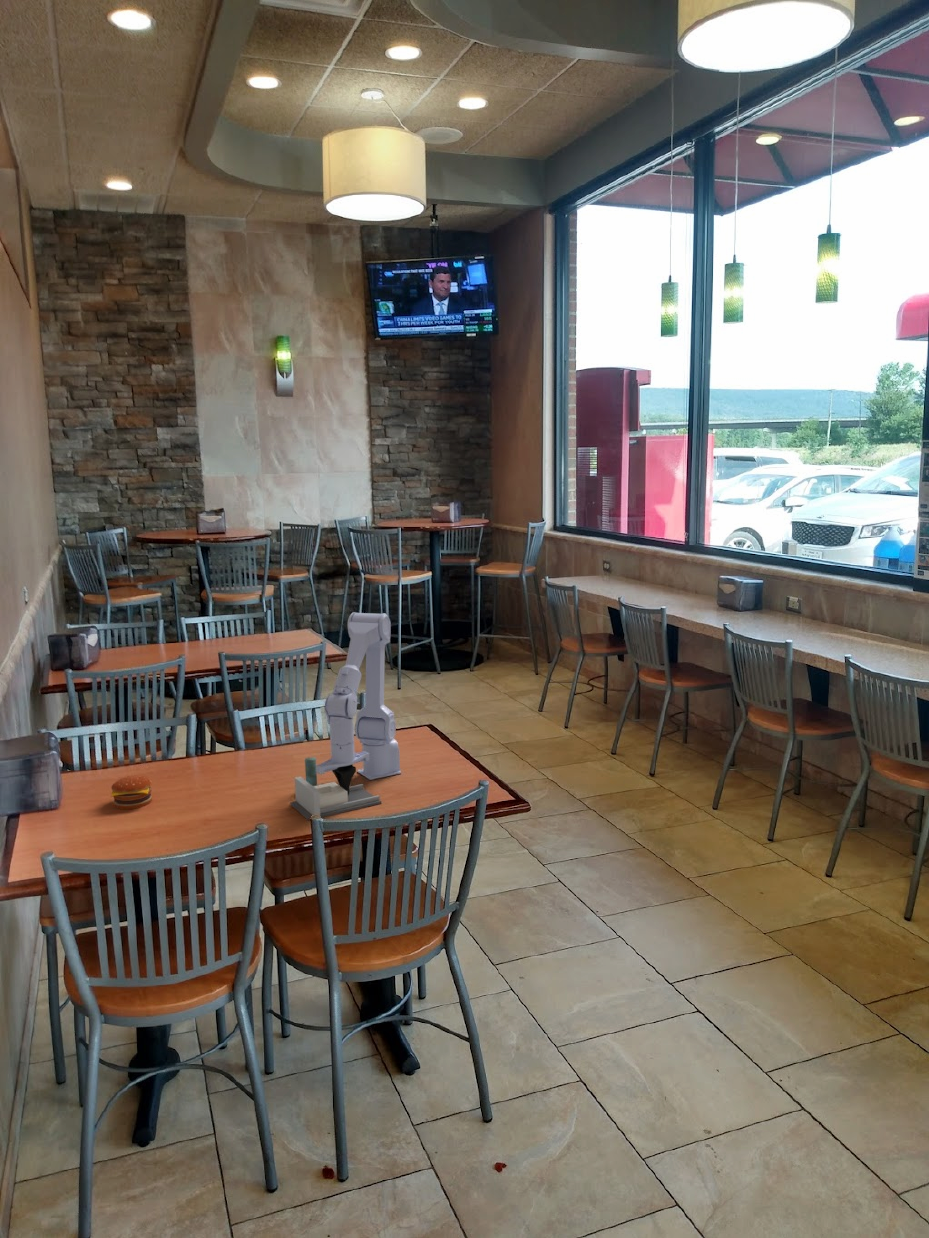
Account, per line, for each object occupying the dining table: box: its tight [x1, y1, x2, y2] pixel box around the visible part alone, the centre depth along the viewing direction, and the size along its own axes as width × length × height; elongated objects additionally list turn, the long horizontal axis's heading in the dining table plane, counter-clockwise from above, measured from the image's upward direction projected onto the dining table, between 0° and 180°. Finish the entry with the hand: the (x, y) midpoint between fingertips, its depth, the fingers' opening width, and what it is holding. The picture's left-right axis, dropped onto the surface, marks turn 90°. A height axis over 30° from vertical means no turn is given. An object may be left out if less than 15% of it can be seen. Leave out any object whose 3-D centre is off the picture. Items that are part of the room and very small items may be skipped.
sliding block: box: [313, 781, 348, 808], centre depth 224 cm, size 8×8×4 cm
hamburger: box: [110, 774, 153, 810], centre depth 228 cm, size 9×10×7 cm
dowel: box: [304, 756, 318, 786], centre depth 235 cm, size 3×3×8 cm
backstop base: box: [289, 776, 382, 821], centre depth 225 cm, size 19×12×7 cm, turn 121°
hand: (344, 794), depth 226 cm, fingers closed, pressing on sliding block
